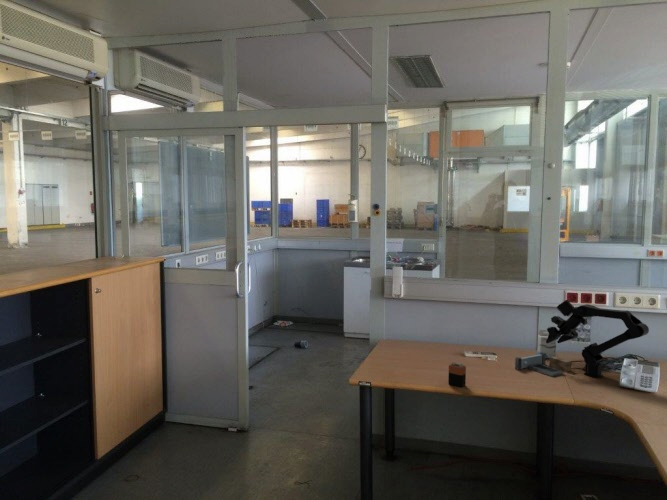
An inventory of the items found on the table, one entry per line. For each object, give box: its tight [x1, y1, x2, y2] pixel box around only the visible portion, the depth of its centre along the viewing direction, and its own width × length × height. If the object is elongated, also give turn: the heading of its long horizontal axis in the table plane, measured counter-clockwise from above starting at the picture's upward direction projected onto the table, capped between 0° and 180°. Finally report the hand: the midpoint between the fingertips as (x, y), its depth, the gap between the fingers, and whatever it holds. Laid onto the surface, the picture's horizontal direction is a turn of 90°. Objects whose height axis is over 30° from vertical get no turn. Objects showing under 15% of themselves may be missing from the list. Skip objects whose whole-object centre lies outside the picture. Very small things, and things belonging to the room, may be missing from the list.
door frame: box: [514, 352, 547, 371], centre depth 260 cm, size 20×2×6 cm, turn 119°
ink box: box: [536, 329, 557, 359], centre depth 278 cm, size 9×5×15 cm, turn 84°
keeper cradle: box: [527, 363, 564, 378], centre depth 253 cm, size 14×8×2 cm, turn 29°
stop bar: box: [548, 356, 572, 373], centre depth 258 cm, size 10×4×5 cm, turn 29°
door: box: [520, 354, 542, 370], centre depth 260 cm, size 16×3×5 cm, turn 119°
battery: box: [447, 362, 467, 388], centre depth 232 cm, size 4×7×10 cm, turn 51°
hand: (552, 342), depth 263 cm, fingers open, 9 cm apart
